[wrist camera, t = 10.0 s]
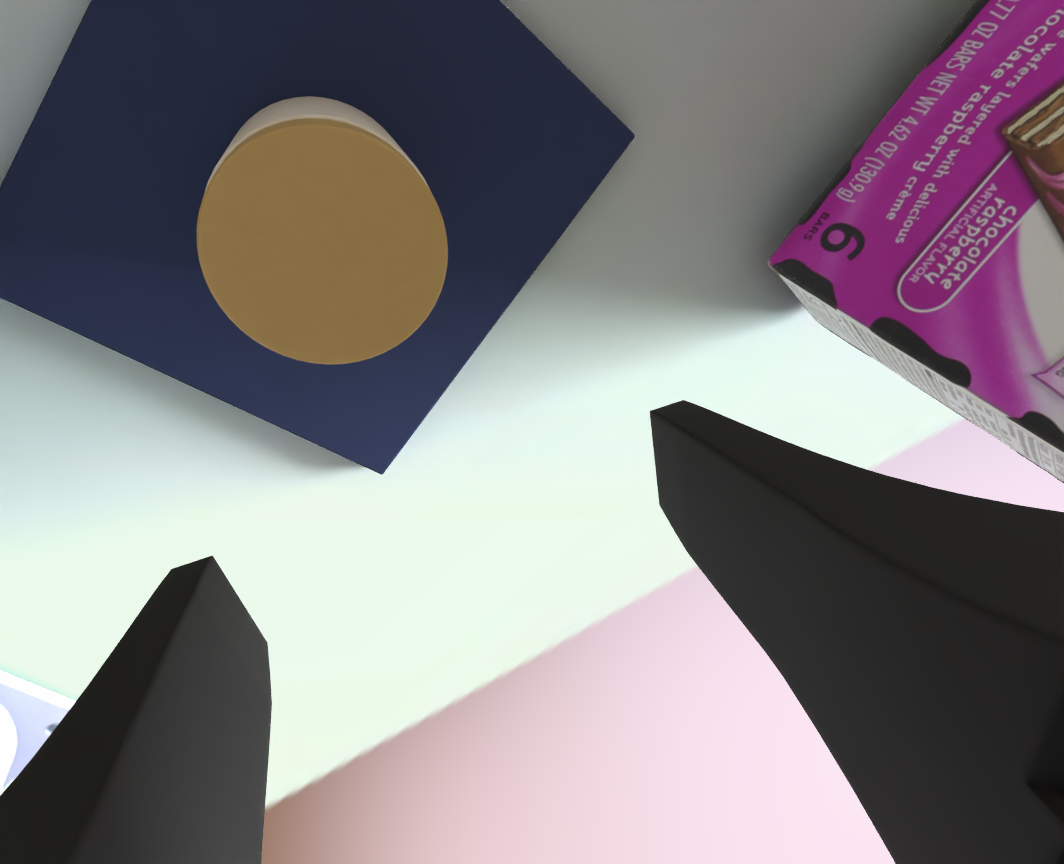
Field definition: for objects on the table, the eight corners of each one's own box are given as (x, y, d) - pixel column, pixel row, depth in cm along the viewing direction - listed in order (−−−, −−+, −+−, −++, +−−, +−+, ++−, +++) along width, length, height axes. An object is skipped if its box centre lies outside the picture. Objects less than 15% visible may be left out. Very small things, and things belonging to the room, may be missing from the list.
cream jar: (321, 320, 18) (327, 410, 13) (178, 183, 15) (131, 240, 11) (450, 211, 17) (496, 268, 13) (323, 50, 15) (331, 58, 10)
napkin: (381, 467, 21) (382, 475, 20) (-36, 271, 15) (-45, 277, 15) (628, 133, 18) (636, 135, 17) (226, -264, 12) (224, -274, 12)
